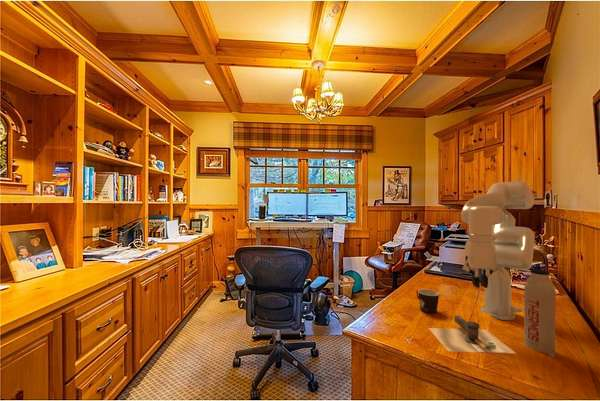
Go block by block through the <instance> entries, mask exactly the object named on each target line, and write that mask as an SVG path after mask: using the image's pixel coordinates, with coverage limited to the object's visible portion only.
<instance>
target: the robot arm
mask: <svg viewBox="0 0 600 401" xmlns="http://www.w3.org/2000/svg"><path fill="white" fill-rule="evenodd" d="M534 202H535V197H534V193H533V191H532V189H531V188H530V186H529V184H527V183H526V182H525V181H524V182H523V181H503V182H496V183H495V182H494V183H493V184H492V185H491V186H490V187H489V188H488V190H487V192H486V193H485V194H482V195H479V196H477V197H473V198H471V199H469V200H468V201H467V202H466V203H465V204H464V206H463V207H462V209H461V213H460V215H461V220H462V222H464V223H466V224H468V241H466V242H465V246H464V250H463V251H464V252H463V267H462V270H463V271H466V272H468V273H469V274H470V275H471V276H472V278H471V279H472V281H471V282H472V286H473V287H475V288H478V289H479V288H481V287H480V286H482V287H484V306H482V307H481V308H480V312H481V313H482V312H483V313H486V314H488V315H490V317H492V318H494V319H496V320H500V321H513V320H515V319H516V315H515V313H516V312H517V313H522V312H523V311H524V309H523V308H522V307H517V306H516V307H515V305H512V278H511V275H510V273H509V272H508V271H507V269H506V268H508V269H514V270H520V271H527V270H531V269H532V265H533V262H534V261H533V260H534V251H535V238H536V237H535V233H534V231H533V230H532V229H531V228H529V227H526V226H525V227H524V226H516V218H515V217H514V216H513V215H512V213H510V212H509V211H508V210H507V209H509V210H529V209H531V208H532V207H533V206H534V204H535V203H534ZM479 270H481V273H482V274H481V275H480V277H479Z"/></svg>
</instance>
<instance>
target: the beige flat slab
mask: <svg viewBox="0 0 600 401" xmlns="http://www.w3.org/2000/svg"><path fill="white" fill-rule="evenodd" d="M428 330H429V331H430V332H431V333H432V334H433V335H434V336H435V337H436V339H437V340H438V341H439V342H440V343H441V345H442V346H443V347H444V348H445V350H447V352H448V353H449V352H453V353H454V352H455V353H482V354H484V353H485V354H489V353H490V354H508V355H509V354H510V355H511V354H516V355H517V352H516V351H514V350H513V349H512V348H510V347H509V346H508V345H507V344H505V343H504V342H502V341H501V339H499V338H497V336H495V335H493V334H492V333H491V332H490V331H489V330H487V329H480V328H478V340H479V341H480V342H481V343H482V344H483V345H484V346H485V347H486V348H482V347H481V346H480V345H479V344H478V343H477V342H476V341H472V340H470V339H468V333H467V332H466V331H465V330H464V329H463V328H439V327H438V328H437V327H435V328H434V327H433V328H432V327H428Z"/></svg>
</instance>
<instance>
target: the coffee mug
mask: <svg viewBox="0 0 600 401" xmlns="http://www.w3.org/2000/svg"><path fill="white" fill-rule="evenodd" d="M416 296H417V299H418V300H419V308H420V311H421V312H422V313H424V314H427V315H436V314H437V313H438V307H439V306H438V304H439V298H440V293H439V292H438V291H436V290H433V289H428V288H421V289H418V290H416Z"/></svg>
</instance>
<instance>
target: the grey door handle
mask: <svg viewBox="0 0 600 401" xmlns="http://www.w3.org/2000/svg"><path fill="white" fill-rule="evenodd" d="M454 322H455V324H457V325H458V326H459V327H460V329H464V330H465V331H466V332H467V333H468V339H470V340H472V341H476V342H477V343H478V344H479V345H480V346H481V347H482V348H486V347H485V346H484V345H483V344H482V343H481V342H480V341H479V340H478V329H480V327H481V326H480V324H479V323H478V322H475V321H470V320H469V321H466V320H465V319H464V318H463V317H462V316H460V315H454Z"/></svg>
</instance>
